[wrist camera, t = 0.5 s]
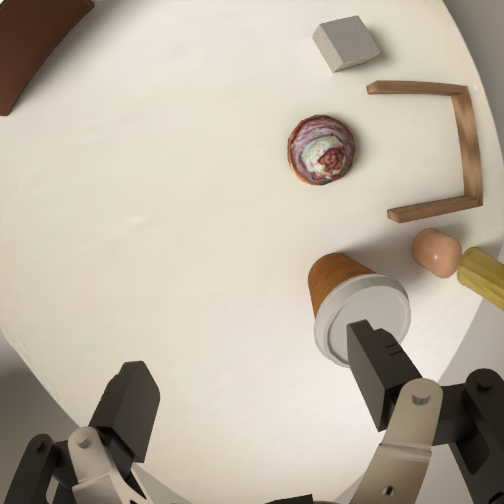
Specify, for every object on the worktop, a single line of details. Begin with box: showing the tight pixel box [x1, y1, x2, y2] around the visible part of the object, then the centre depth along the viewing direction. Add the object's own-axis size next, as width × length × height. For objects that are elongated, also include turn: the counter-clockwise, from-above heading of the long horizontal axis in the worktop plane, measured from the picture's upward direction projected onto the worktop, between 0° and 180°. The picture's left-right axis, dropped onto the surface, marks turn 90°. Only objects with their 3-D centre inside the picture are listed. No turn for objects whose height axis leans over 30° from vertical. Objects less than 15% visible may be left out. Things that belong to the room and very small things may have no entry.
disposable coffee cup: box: [308, 253, 411, 368], centre depth 29 cm, size 10×10×12 cm
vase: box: [457, 247, 504, 311], centre depth 28 cm, size 6×6×14 cm
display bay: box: [366, 81, 483, 223], centre depth 28 cm, size 16×14×3 cm
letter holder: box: [0, 0, 94, 116], centre depth 16 cm, size 10×20×14 cm, turn 133°
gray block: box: [312, 16, 381, 73], centre depth 24 cm, size 5×5×4 cm
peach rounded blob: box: [412, 229, 462, 278], centre depth 31 cm, size 5×5×5 cm
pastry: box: [288, 115, 355, 185], centre depth 28 cm, size 8×8×5 cm
